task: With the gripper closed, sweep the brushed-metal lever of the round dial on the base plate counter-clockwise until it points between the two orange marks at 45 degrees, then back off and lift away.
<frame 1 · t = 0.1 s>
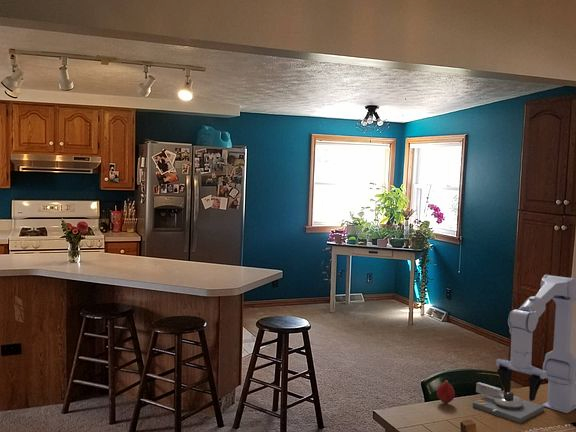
hand: (519, 396, 161), 10 cm above the table, fingers open, 7 cm apart
dial plate: (508, 408, 177), on the table
dial: (499, 394, 179), point 4 cm above the table, hinge at 0.0°
onion: (445, 404, 180), on the table
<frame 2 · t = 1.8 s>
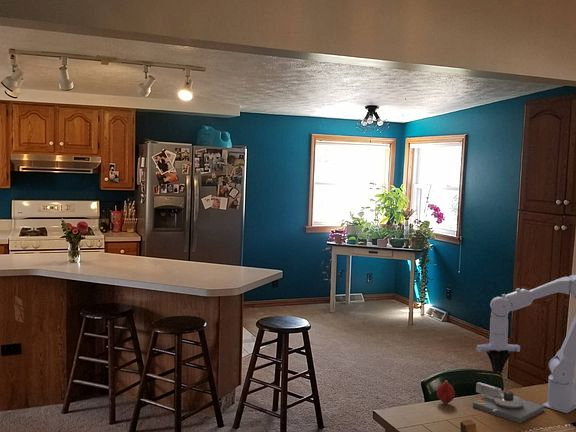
hand: (497, 372, 185), 9 cm above the table, fingers closed
nothing on the table moved.
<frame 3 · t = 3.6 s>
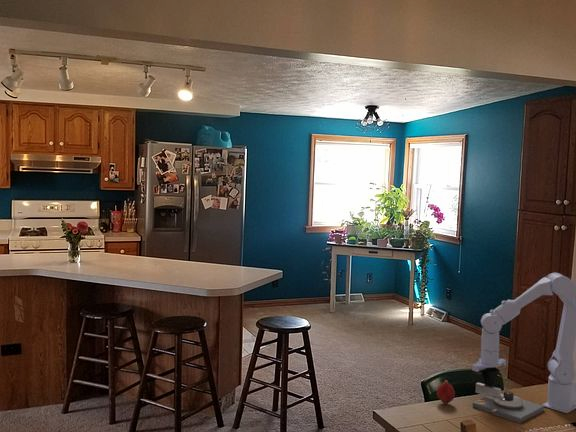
hand: (488, 389, 184), 4 cm above the table, fingers closed
dial: (498, 394, 179), point 4 cm above the table, hinge at 2.5°, touching gripper
everything else where it was.
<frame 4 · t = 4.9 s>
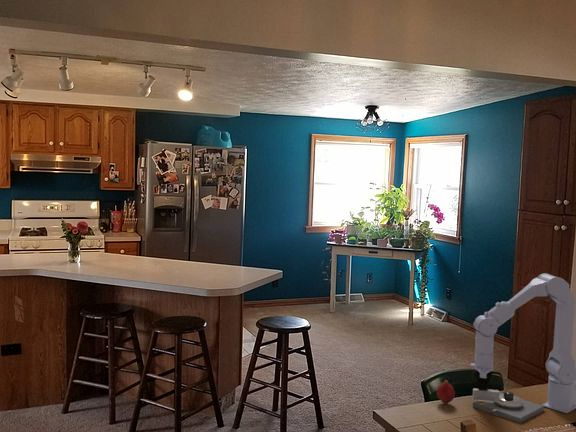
hand: (482, 392, 180), 4 cm above the table, fingers closed, pressing on dial
dial: (497, 396, 178), point 4 cm above the table, hinge at 39.2°, touching gripper
everything else where it was.
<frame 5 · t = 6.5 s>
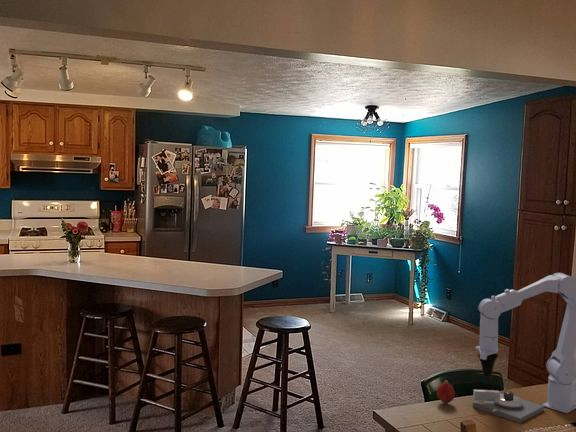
hand: (487, 375, 181), 9 cm above the table, fingers closed
dial: (498, 397, 177), point 4 cm above the table, hinge at 45.3°
everything else where it was.
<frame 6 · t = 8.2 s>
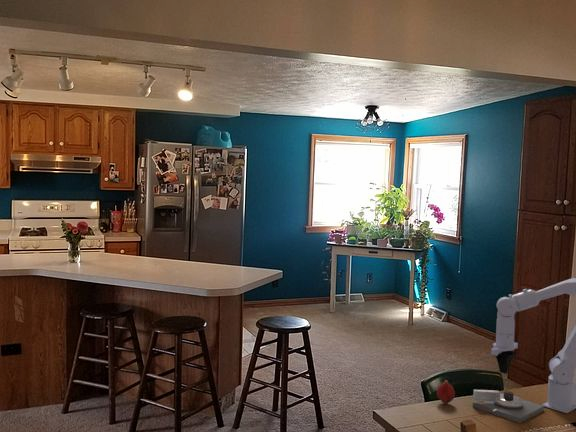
hand: (503, 372, 184), 9 cm above the table, fingers closed
nothing on the table moved.
at the end: dial at +45° (first picture: +0°) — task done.
